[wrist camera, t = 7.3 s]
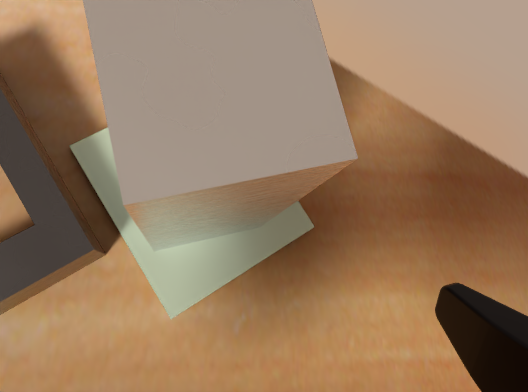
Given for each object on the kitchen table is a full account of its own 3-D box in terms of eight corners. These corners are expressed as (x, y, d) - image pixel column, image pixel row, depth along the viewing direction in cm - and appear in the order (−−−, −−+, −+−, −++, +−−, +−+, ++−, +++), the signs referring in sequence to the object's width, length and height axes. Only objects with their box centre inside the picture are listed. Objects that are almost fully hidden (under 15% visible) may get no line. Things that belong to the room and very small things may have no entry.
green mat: (311, 228, 19) (314, 226, 18) (171, 318, 17) (170, 319, 16) (217, 78, 19) (218, 74, 19) (71, 148, 17) (69, 145, 17)
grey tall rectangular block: (259, 227, 18) (358, 158, 8) (153, 251, 17) (123, 204, 7) (235, 129, 18) (300, -41, 9) (132, 147, 17) (77, -25, 8)
